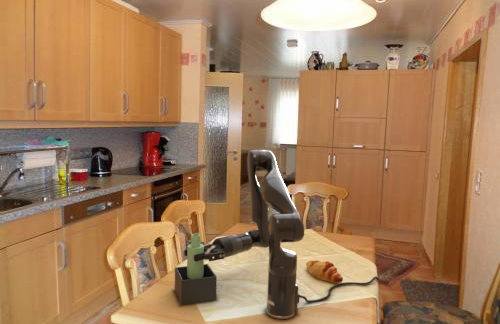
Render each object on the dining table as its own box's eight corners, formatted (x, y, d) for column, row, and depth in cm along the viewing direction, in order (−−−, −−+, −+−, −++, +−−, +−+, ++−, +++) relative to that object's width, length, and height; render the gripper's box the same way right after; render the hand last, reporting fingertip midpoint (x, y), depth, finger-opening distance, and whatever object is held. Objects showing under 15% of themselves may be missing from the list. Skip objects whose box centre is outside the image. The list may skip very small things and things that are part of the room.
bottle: (201, 271, 142) (201, 231, 140) (205, 278, 137) (205, 236, 135) (185, 273, 140) (186, 233, 138) (189, 280, 135) (189, 238, 133)
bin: (207, 285, 147) (207, 263, 146) (216, 300, 135) (216, 276, 134) (174, 289, 142) (175, 267, 141) (181, 305, 131) (181, 280, 130)
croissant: (301, 275, 167) (295, 261, 165) (317, 261, 172) (311, 247, 169) (336, 294, 149) (330, 278, 147) (353, 278, 154) (347, 262, 151)
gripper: (216, 231, 152) (178, 239, 141) (240, 241, 141) (201, 251, 130) (216, 250, 152) (178, 259, 141) (239, 261, 142) (200, 272, 131)
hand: (189, 255), depth 136 cm, fingers closed on bottle, 5 cm apart
